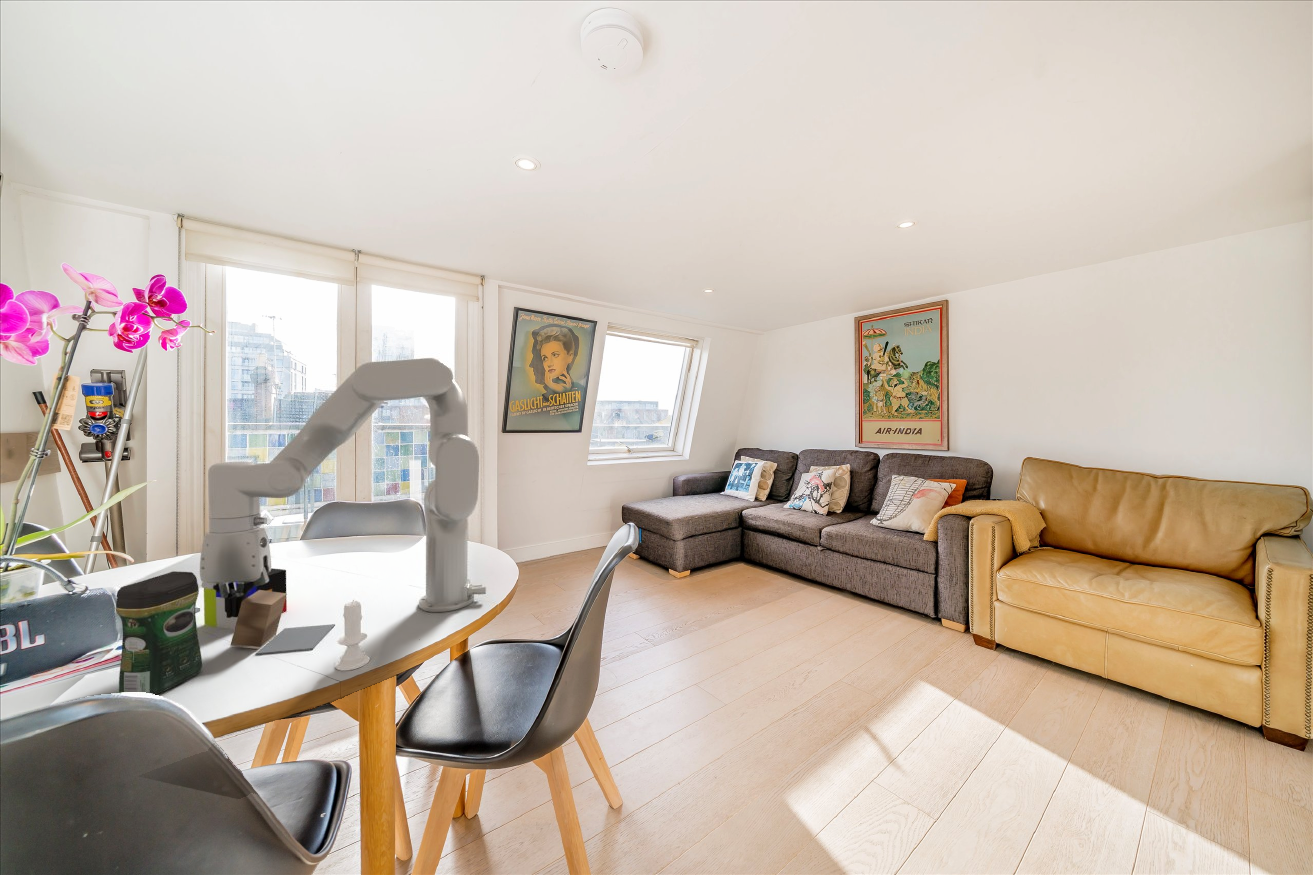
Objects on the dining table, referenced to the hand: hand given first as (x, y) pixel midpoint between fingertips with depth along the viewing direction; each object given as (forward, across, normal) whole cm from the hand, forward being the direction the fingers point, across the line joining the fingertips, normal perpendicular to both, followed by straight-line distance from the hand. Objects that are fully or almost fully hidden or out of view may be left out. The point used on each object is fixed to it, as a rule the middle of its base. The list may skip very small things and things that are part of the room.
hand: (236, 614), depth 94 cm
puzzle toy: (+6, +5, -14) cm, 16 cm away
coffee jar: (+6, +4, +13) cm, 15 cm away
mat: (+6, -11, 0) cm, 12 cm away
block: (+6, -3, 0) cm, 6 cm away
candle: (+6, -25, +13) cm, 29 cm away
